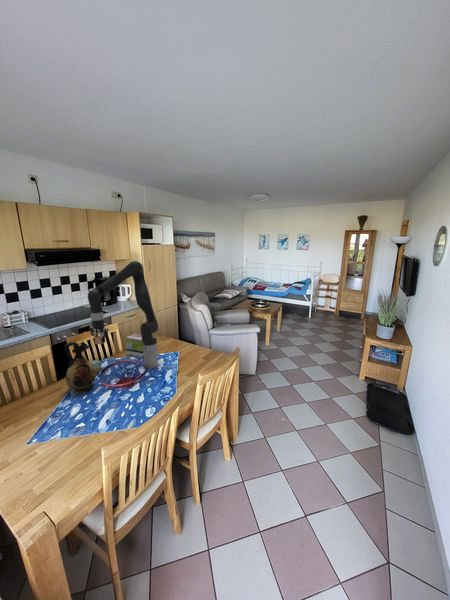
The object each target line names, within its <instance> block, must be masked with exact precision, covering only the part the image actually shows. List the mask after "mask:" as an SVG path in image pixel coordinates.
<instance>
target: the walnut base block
mask: <svg viewBox="0 0 450 600" xmlns="http://www.w3.org/2000/svg"><path fill="white" fill-rule="evenodd" d="M95 372H96V375H99V374H98V373H100V372H102V366H101V367H100V368H98V369H95ZM102 373H103V372H102ZM100 374H101V373H100Z"/></svg>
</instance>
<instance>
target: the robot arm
mask: <svg viewBox="0 0 450 600" xmlns="http://www.w3.org/2000/svg"><path fill="white" fill-rule="evenodd" d="M131 277H132V279H133V280H132V281H133V284H134V296H135V301H136V304H137V307H139V308H140V310H141V311H142V312H143V313H144V315H145V318H146V321H145V322H143V323H141V325H140V335H141V338H142V341H143V348H144V357H143V358H144V359H143V360H144V367H145V366H146V367H147V368H146V367H145V368H146V369H150V370H152V369H155V368H158V367H159V356H158V343H157V342H158V341H157V338H156V337H153V334H154V333H156V332H158V331H159V323H158V321H157V318H156V314H155V312H154V309H153V306H152V300H151V296H150V292H149V289H148V286H147V283H146V279H145V272H144V267H143V264H142V263H141V262H139V261H136V260H132V261H130V262H128V263H127V265H126V266H125V267H124V268H122V269H121V270H120V271H118V272H117V273H115V274H114V275H113V276H111V277H109V278H107V279H106V280H105V281H103V282H102V283H100V284H99V285H98V286H96V287H95V288H92V289H90V291H88V293H87V300H88V304H89V307H90V308H89V309H90V319H91V321H90V322H91V327H89V328H88V329H89V331H90V335H91V337H93V338H95V337H97V336H99V335H101V340H102V343H103V344H105V343H106V338H107V337H108V334H109V333H108V332H109V328H105V326H104V325H105V318H104V312H103V304H102V303H101V298H102V297H103V296H104V295H105V294H107V293H110V292H111V291H112V290H114V289H116V288H117V287H118V286H120V285H121V284H122V283H123V282H124V281H126V280H127V279H129V278H131ZM104 342H105V343H104Z"/></svg>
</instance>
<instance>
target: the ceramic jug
mask: <svg viewBox="0 0 450 600" xmlns="http://www.w3.org/2000/svg"><path fill="white" fill-rule="evenodd" d="M72 346H74V348H72V351H71V352H72V353H73V354H75V355H74V357H73V356H72V354H71V353H70V350H69V348H70V347H72ZM88 349H90V345H88V344H87V343H85V342H82V343H81V344H78V342H76V341H69V342H66V345H65V347H64V351H65V353H66V354H65V355H67V357H68V359H69V363H68V368H67V371H66V374H65V383H66V385H67V386H68V387H69V388H70V390H71V389H72V392H74V393H77V394H80V393H82V394H83V393H87V392H88V391H89V390H91V389H92V385H93V383H94V382H95V381H96V377H97V374H96V372H95V369H94V367H93V365H92V364H91V363H90V362H91V361H89V360H88V359H87V358H86V357H85V356H84V355H83V352H84V351H86V350H88Z"/></svg>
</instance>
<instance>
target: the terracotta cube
mask: <svg viewBox="0 0 450 600" xmlns="http://www.w3.org/2000/svg"><path fill="white" fill-rule="evenodd" d="M105 343H106V341H105V342H104V343H102V340H101V335H99V334H98V336H97V337H94V344H95V345H100V346H101V345H102V344H105Z"/></svg>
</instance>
